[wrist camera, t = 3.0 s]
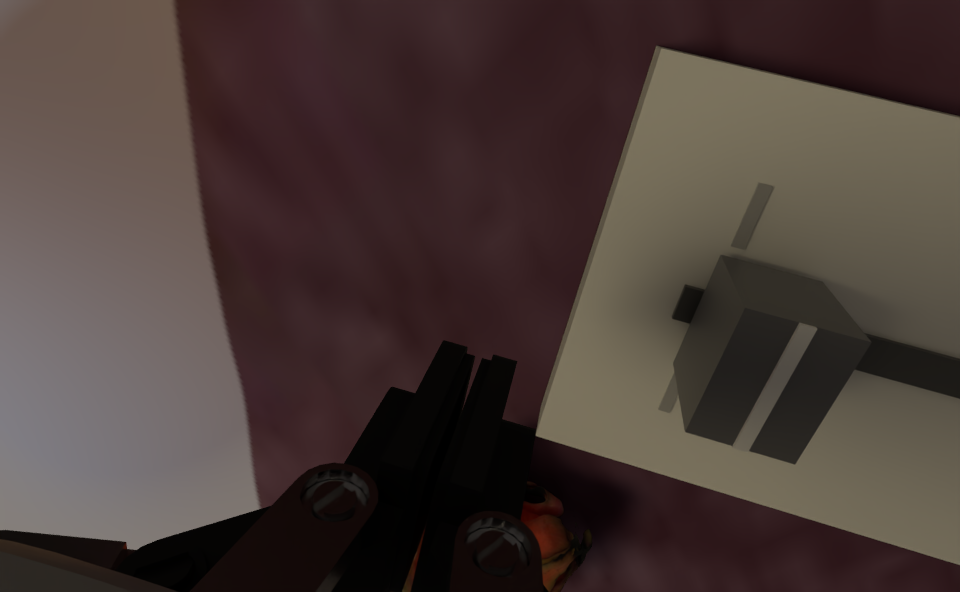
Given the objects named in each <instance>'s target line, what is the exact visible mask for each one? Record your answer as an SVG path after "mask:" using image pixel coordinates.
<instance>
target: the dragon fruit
mask: <svg viewBox="0 0 960 592" xmlns="http://www.w3.org/2000/svg"><path fill="white" fill-rule="evenodd" d="M525 493H527V494H531V495H536V496H540V497H543V498H545V499H546V500H545V502H543V503H535V504H534V503H529V502H526V501H524V504H523V509H522V515H521V521H522V522H523V523H524V524H525V525H526V526H527V527H528V528H529V529H530V530H531V531H532V532H533V533H534V535H535V537H536V539H537V540H538V542H539V546H540V550H541V555H542V573H543V585H544V586H545V587H546V589H547V590H548V591H549V592H561V590H562V588H563V586H564V584H565V583H566V581H567V579H568V578H569V576H570V575H572V573H573V572H574V571H575V570H577V569H578V567H579V566H580V565H581V564H582V562H583V561H584V559H585V556H586V553H587V552H588V551H589V550H590V548H591V547H592V536H591V532H590V529H588V530H585V532H584V534H583V536H584V538H583V540H582V543H581V545H580V543H579V540H578V537H577V535H576V534H575V537H574V538H573V534H572V532H570V531H569V530H567V529H566V528H565V527H564V525H563V524H562V522H561V521H562V520H561V519H559V518H557V517H560V516H562V515H563V513H564V509H563V505H562V502H561V500H560V499H558V498H556V497H555V496H554V495H552V494H551V492H548V491H547V490H546V489H545V488H544V487H542V486H539V487H537V485H536V484H535V483H533V482H530V481H527V486H526V492H525ZM553 494H554V493H553ZM558 497H559V496H558ZM575 519H576V518H575ZM576 525H577V524H576ZM577 527H578V526H577ZM575 528H576V526H575ZM424 531H425V530H424ZM423 536H424V532H423V535H422V538H421V541H420V544H419V546H418V549H417V552H416V555H415V557H414V560H413V563H412V566H411V568H410V571H409V574H408V577H407V579H406V582H405V585H404V588H403V590H402V592H411V587H412V583H413V579H414V574H415V570H416V566H417V562H418V557H419V553H420V549H421V544H422V540H423ZM391 592H392V591H391Z"/></svg>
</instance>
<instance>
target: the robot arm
mask: <svg viewBox="0 0 960 592" xmlns="http://www.w3.org/2000/svg"><path fill="white" fill-rule="evenodd" d="M474 359H475V356H473V355H470V354H467V347H466V346H462V345H459V344H455V343H452V342H448V341H445V340H444V341H443V342H442V344H441V346H440V347H439V349H438V351H437V353H436V355H435V357H434V359H433V361H432V363H431V365H430V366H429V368H428V370H427V372H426V374H425V376H424V378H423V380H422V382H421V383H420V385H419V387H418V389H417V391H416V393H412V392H409V391H405V390H402V389H398V388H395V387H391V388H390V389H389V391H388V392H387V394H386V395H385V397H384V398H383V400H382V402H381V403H380V405H379V407H378V408H377V410H376V412H375V413H374V415H373V417H372V418H371V420H370V422H369V423H368V425H367V426H366V428H365V430H364V431H363V433H362V435H361V436H360V438H359V440H358V441H357V443H356V445H355V446H354V448H353V449H352V451H351V453H350V454H349V456H348V458H347V459H346V461H345V463H344V464H342V463H329V464H323V465H319V466H316V467H314V468H312V469H309V470H308V471H306V472H305V473H304V474H302V475H301V476H300V477H299V478H298V479H297V480H296V481H295V482H294V483H293V484H292V485H291V486H290V487H289V488H288V489H287V490H286V491H285V492H284V493H283V494H282V495H281V496H280V497H279V498H278V500H277V501H276V502H275V503H274V504H273V505H272V506H269V507H266V508H262V509H259V510H256V511H253V512H249V513H246V514H243V515H239V516H236V517H233V518H229V519H226V520H223V521H219V522H216V523H213V524H209V525H206V526H203V527H199V528H196V529H193V530H189V531H186V532H183V533H179V534H176V535H173V536H169V537H166V538H163V539H160V540H157V541H154V542H152V543H150V544H147V545H145V546H142V547H140V548H139V549H138V550H130V549H127V546H126V542H122V541H111V540H101V539H90V538H80V537H70V536H60V535H51V534H41V533H30V532H20V531H10V530H0V592H391V591H392V592H402V590H403V588H404V585H405V582H406V579H407V577H408V574H409V571H410V568H411V566H412V563H413V560H414V557H415V555H416V552H417V549H418V546H419V544H420V541H421V538H422V535H423V532H424V536H423V540H422V544H421V549H420V553H419V557H418V562H417V566H416V570H415V574H414V579H413V583H412V587H411V592H549V591H548V590H547V589H546V587H545V586H544V585H543V573H542V555H541V550H540V546H539V542H538V540H537V539H536V537H535V535H534V533H533V532H532V531H531V530H530V529H529V528H528V527H527V526H526V525H525V524H524V523H523V522H522V521H521V515H522V509H523V504H524V498H525V492H526V486H527V480H528V474H529V469H530V463H531V457H532V451H533V445H534V439H535V433H536V429H533V428H530V427H526V426H523V425H520V424H516V423H513V422H510V421H506V420H503V419H502V417H503V413H504V409H505V405H506V402H507V398H508V394H509V390H510V387H511V383H512V379H513V375H514V371H515V368H516V364H517V361H514V360H511V359H507V358H504V357H500V356H497V355H493V357H492V360H487V359H484V358H482V360H481V363H480V365H479V368H478V371H477V373H476V376H475V379H474V381H473V384H472V386H471V389H470V392H469V394H468V397H467V400H466V402H465V405H464V401H465V396H466V392H467V388H468V384H469V380H470V376H471V372H472V367H473V363H474ZM463 405H464V408H463ZM462 409H463V410H462ZM424 530H425V531H424Z"/></svg>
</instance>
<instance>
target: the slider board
mask: <svg viewBox="0 0 960 592" xmlns="http://www.w3.org/2000/svg"><path fill="white" fill-rule="evenodd" d="M720 255H725V256H728V257H732V258H736V259H740V260H743V261H747V262H751V263H755V264H759V265H762V266H766V267H770V268H774V269H777V270H781V271H785V272H789V273H793V274H796V275H800V276H804V277H808V278H811V279H815V280H819V281H823V283H824V284H825V285H826V286H827V288H828V289H829V290H830V291H831V292H832V294H833V295H834V296H835V297H836V299H837V300H838V301H839V302H840V304H841V305H842V306H843V307H844V309H845V310H846V311H847V312H848V314H849V315H850V316H851V317H852V319H853V320H854V321H855V322H856V323H857V325H858V326H859V327H860V328H861V330H862V331H863V332H864V333H865V335H866V336H867V337H868V338H869V340H870V341H871V344H870V346H869V347H868V349H867V350H866V352H865V354H864V355H863V357H862V358H861V360H860V362H859V363H858V365H857V367H856V368H855V370H854V371H853V373H852V375H851V376H850V378H849V379H848V381H847V383H846V384H845V386H844V387H843V389H842V391H841V392H840V394H839V395H838V397H837V399H836V400H835V402H834V403H833V405H832V407H831V408H830V410H829V411H828V413H827V415H826V416H825V418H824V419H823V421H822V423H821V424H820V426H819V427H818V429H817V431H816V432H815V434H814V435H813V437H812V439H811V440H810V442H809V443H808V445H807V447H806V448H805V450H804V451H803V453H802V455H801V456H800V458H799V459H798V461H797V463H796V464H795V465H794V464H791V463H788V462H784V461H781V460H777V459H774V458H771V457H767V456H764V455H761V454H757V453H754V452H750V451H748V453H746V452H743V451H740V450H736V449H733V447H732V446H730V445H727V444H723V443H720V442H717V441H713V440H710V439H706V438H703V437H700V436H696V435H693V434H690V433H686V432H685V430H684V424H683V418H682V412H681V407H680V401H679V395H678V389H677V384H676V378H675V372H674V367H673V362H674V359H675V357H676V355H677V353H678V350H679V348H680V346H681V343H682V341H683V339H684V337H685V334H686V332H687V330H688V328H689V325H690V323H691V321H692V318H693V316H694V314H695V312H696V309H697V307H698V305H699V302H700V300H701V298H702V296H703V293H704V291H705V289H706V287H707V284H708V282H709V280H710V277H711V275H712V273H713V271H714V268H715V266H716V264H717V261H718V259H719V257H720ZM536 436H538V437H541V438H544V439H548V440H551V441H554V442H557V443H561V444H564V445H567V446H571V447H574V448H577V449H580V450H584V451H587V452H590V453H594V454H597V455H600V456H603V457H607V458H610V459H613V460H617V461H620V462H623V463H626V464H630V465H633V466H636V467H640V468H643V469H646V470H649V471H653V472H656V473H659V474H663V475H666V476H669V477H672V478H676V479H679V480H682V481H686V482H689V483H692V484H695V485H699V486H702V487H705V488H709V489H712V490H715V491H718V492H722V493H725V494H728V495H732V496H735V497H738V498H741V499H745V500H748V501H751V502H755V503H758V504H761V505H764V506H768V507H771V508H774V509H778V510H781V511H784V512H787V513H791V514H794V515H797V516H801V517H804V518H807V519H810V520H814V521H817V522H820V523H824V524H827V525H830V526H833V527H837V528H840V529H843V530H847V531H850V532H853V533H856V534H860V535H863V536H866V537H870V538H873V539H876V540H879V541H883V542H886V543H889V544H893V545H896V546H899V547H902V548H906V549H909V550H912V551H916V552H919V553H922V554H925V555H929V556H932V557H935V558H939V559H942V560H945V561H948V562H952V563H955V564H958V565H960V116H957V115H953V114H948V113H944V112H940V111H936V110H931V109H927V108H923V107H918V106H914V105H910V104H905V103H901V102H897V101H893V100H888V99H884V98H880V97H875V96H871V95H867V94H863V93H858V92H854V91H850V90H845V89H841V88H837V87H832V86H828V85H824V84H820V83H815V82H811V81H807V80H802V79H798V78H794V77H789V76H785V75H781V74H777V73H772V72H768V71H764V70H759V69H755V68H751V67H747V66H742V65H738V64H734V63H729V62H725V61H721V60H716V59H712V58H708V57H704V56H699V55H695V54H691V53H686V52H682V51H678V50H673V49H669V48H665V47H661V46H656V49H655V52H654V55H653V58H652V61H651V64H650V68H649V71H648V74H647V77H646V80H645V83H644V86H643V89H642V92H641V96H640V99H639V102H638V105H637V108H636V111H635V114H634V117H633V121H632V124H631V127H630V130H629V133H628V136H627V139H626V142H625V145H624V149H623V152H622V155H621V158H620V161H619V164H618V167H617V170H616V174H615V177H614V180H613V183H612V186H611V189H610V192H609V195H608V198H607V202H606V205H605V208H604V211H603V214H602V217H601V220H600V223H599V227H598V230H597V233H596V236H595V239H594V242H593V245H592V248H591V251H590V255H589V258H588V261H587V264H586V267H585V270H584V273H583V276H582V280H581V283H580V286H579V289H578V292H577V295H576V298H575V301H574V304H573V308H572V311H571V314H570V317H569V320H568V323H567V326H566V329H565V333H564V336H563V339H562V342H561V345H560V348H559V351H558V354H557V357H556V361H555V364H554V367H553V370H552V373H551V376H550V379H549V382H548V386H547V389H546V392H545V395H544V398H543V401H542V404H541V409H540V414H539V420H538V425H537V430H536Z"/></svg>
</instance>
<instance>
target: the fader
mask: <svg viewBox="0 0 960 592" xmlns="http://www.w3.org/2000/svg"><path fill="white" fill-rule="evenodd" d="M870 344H871V341H870V340H869V338H868V337H867V336H866V335H865V333H864V332H863V331H862V330H861V328H860V327H859V326H858V325H857V323H856V322H855V321H854V320H853V319H852V317H851V316H850V315H849V314H848V312H847V311H846V310H845V309H844V307H843V306H842V305H841V304H840V302H839V301H838V300H837V299H836V297H835V296H834V295H833V294H832V292H831V291H830V290H829V289H828V288H827V286H826V285H825V284H824V283H823V281H819V280H815V279H811V278H808V277H804V276H800V275H796V274H793V273H789V272H785V271H781V270H777V269H774V268H770V267H766V266H762V265H759V264H755V263H751V262H747V261H743V260H740V259H736V258H732V257H728V256H725V255H720V257H719V259H718V261H717V264H716V266H715V268H714V271H713V273H712V275H711V277H710V280H709V282H708V284H707V287H706V289H705V291H704V293H703V296H702V298H701V300H700V302H699V305H698V307H697V309H696V312H695V314H694V316H693V318H692V321H691V323H690V325H689V328H688V330H687V332H686V334H685V337H684V339H683V341H682V343H681V346H680V348H679V350H678V353H677V355H676V357H675V359H674V362H673V367H674V372H675V378H676V384H677V389H678V395H679V401H680V407H681V412H682V418H683V424H684V430H685V432H686V433H690V434H693V435H696V436H700V437H703V438H706V439H710V440H713V441H717V442H720V443H723V444H727V445H730V446H732V447H733V449H736V450H740V451H743V452H746V453H748V451H750V452H754V453H757V454H761V455H764V456H767V457H771V458H774V459H777V460H781V461H784V462H788V463H791V464H794V465H795V464H796V463H797V461H798V459H799V458H800V456H801V455H802V453H803V451H804V450H805V448H806V447H807V445H808V443H809V442H810V440H811V439H812V437H813V435H814V434H815V432H816V431H817V429H818V427H819V426H820V424H821V423H822V421H823V419H824V418H825V416H826V415H827V413H828V411H829V410H830V408H831V407H832V405H833V403H834V402H835V400H836V399H837V397H838V395H839V394H840V392H841V391H842V389H843V387H844V386H845V384H846V383H847V381H848V379H849V378H850V376H851V375H852V373H853V371H854V370H855V368H856V367H857V365H858V363H859V362H860V360H861V358H862V357H863V355H864V354H865V352H866V350H867V349H868V347H869V346H870Z"/></svg>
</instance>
